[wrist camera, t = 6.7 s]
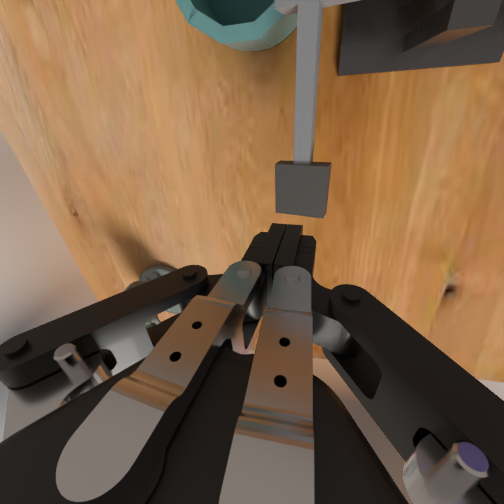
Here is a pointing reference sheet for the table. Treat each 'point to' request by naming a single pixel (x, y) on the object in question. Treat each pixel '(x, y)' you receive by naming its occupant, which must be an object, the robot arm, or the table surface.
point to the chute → (304, 118)
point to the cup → (240, 22)
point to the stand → (420, 34)
